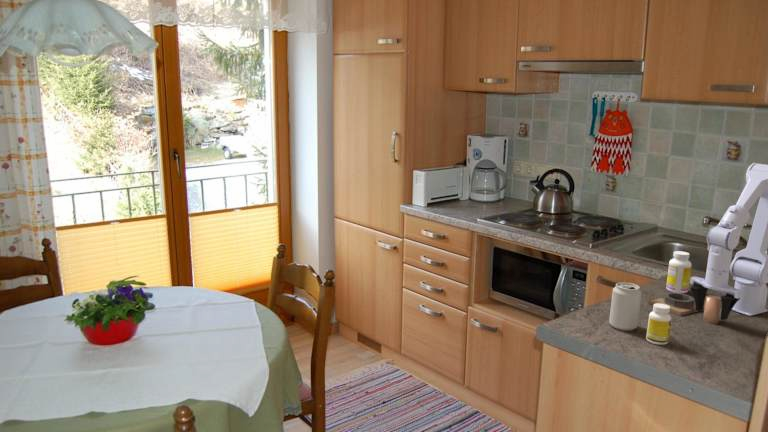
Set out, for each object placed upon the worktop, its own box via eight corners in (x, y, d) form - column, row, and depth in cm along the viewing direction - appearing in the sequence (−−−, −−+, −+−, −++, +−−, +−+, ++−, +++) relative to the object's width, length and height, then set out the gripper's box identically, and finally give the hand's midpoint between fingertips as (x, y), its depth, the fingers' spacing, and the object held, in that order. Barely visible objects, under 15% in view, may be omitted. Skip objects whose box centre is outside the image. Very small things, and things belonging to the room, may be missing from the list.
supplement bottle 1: (670, 346, 165) (675, 310, 163) (648, 344, 166) (652, 308, 164) (665, 338, 170) (670, 303, 168) (644, 336, 171) (648, 301, 169)
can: (634, 334, 172) (639, 291, 170) (605, 327, 176) (610, 286, 173) (639, 325, 178) (645, 284, 176) (612, 319, 182) (616, 279, 180)
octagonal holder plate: (676, 297, 203) (677, 288, 202) (708, 309, 193) (709, 299, 193) (648, 303, 196) (649, 294, 196) (680, 315, 187) (681, 305, 186)
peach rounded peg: (708, 317, 186) (711, 294, 185) (721, 322, 183) (724, 298, 181) (699, 319, 184) (703, 296, 183) (712, 324, 181) (716, 300, 179)
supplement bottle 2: (688, 289, 211) (693, 251, 208) (688, 295, 205) (693, 256, 202) (665, 286, 214) (670, 249, 211) (665, 292, 208) (670, 253, 205)
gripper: (686, 263, 184) (679, 308, 187) (734, 278, 172) (726, 325, 175) (701, 260, 188) (695, 304, 191) (749, 274, 176) (742, 321, 179)
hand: (711, 314), depth 183 cm, fingers open, 7 cm apart
